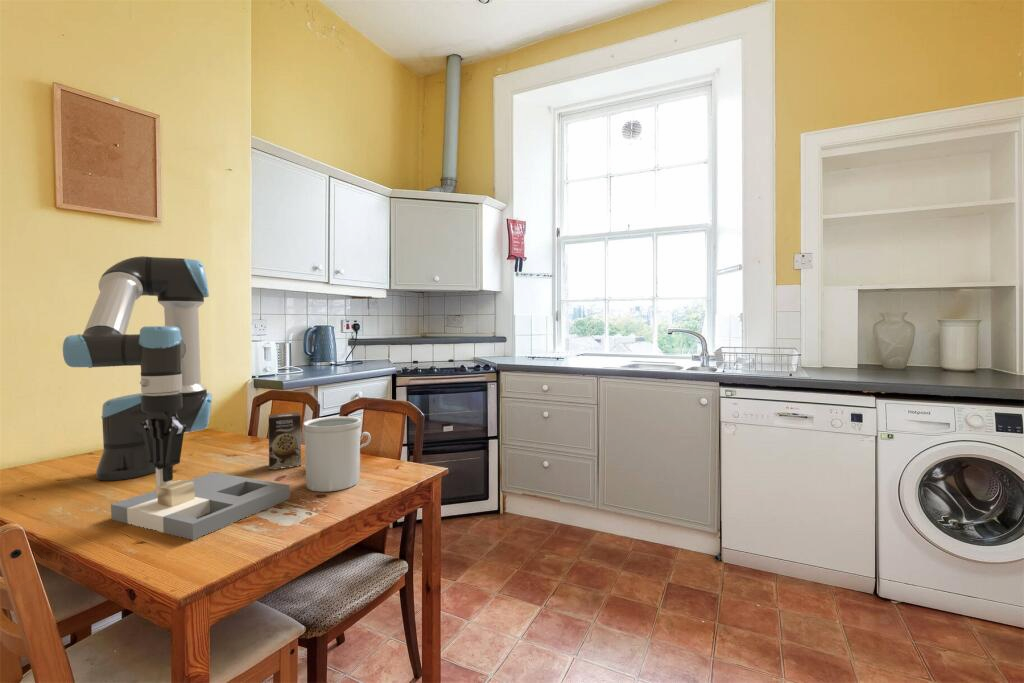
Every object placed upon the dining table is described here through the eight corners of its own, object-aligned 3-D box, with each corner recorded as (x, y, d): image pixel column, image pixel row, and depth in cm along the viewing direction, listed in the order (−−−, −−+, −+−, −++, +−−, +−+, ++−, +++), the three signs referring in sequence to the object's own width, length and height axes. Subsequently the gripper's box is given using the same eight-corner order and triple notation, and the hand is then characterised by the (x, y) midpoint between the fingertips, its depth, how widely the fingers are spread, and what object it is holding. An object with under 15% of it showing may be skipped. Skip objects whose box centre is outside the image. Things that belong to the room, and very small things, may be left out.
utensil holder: (325, 473, 135) (324, 414, 135) (371, 476, 132) (370, 416, 132) (292, 490, 121) (290, 425, 120) (342, 494, 118) (341, 427, 117)
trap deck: (111, 519, 104) (110, 504, 103) (214, 484, 126) (214, 472, 126) (193, 540, 93) (192, 523, 93) (290, 498, 115) (289, 485, 115)
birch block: (157, 504, 103) (157, 486, 103) (180, 496, 108) (180, 479, 108) (172, 507, 102) (171, 489, 101) (194, 499, 106) (194, 482, 106)
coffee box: (268, 470, 138) (267, 417, 137) (269, 464, 144) (267, 414, 143) (302, 466, 142) (300, 415, 142) (300, 460, 148) (299, 411, 147)
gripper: (125, 393, 103) (129, 496, 104) (162, 397, 99) (165, 504, 99) (161, 389, 110) (164, 485, 111) (197, 392, 106) (199, 492, 106)
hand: (164, 494), depth 105 cm, fingers closed
